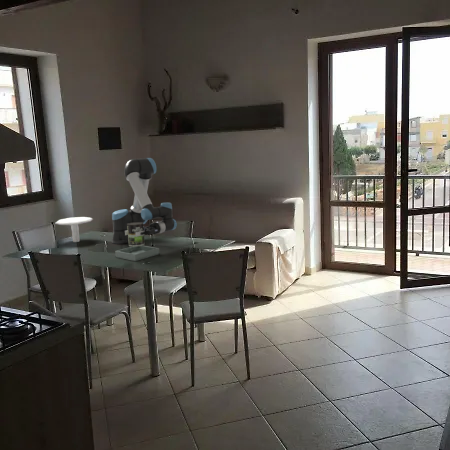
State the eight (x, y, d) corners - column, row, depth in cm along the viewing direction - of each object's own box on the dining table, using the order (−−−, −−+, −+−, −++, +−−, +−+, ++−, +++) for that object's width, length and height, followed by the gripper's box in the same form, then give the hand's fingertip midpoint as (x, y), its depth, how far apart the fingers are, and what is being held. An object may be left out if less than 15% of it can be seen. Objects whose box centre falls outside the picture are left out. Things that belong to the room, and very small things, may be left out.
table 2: (81, 246, 351) (78, 223, 348) (49, 244, 360) (46, 222, 357) (102, 237, 377) (100, 216, 374) (72, 237, 386) (69, 216, 383)
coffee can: (147, 245, 310) (145, 223, 308) (131, 247, 305) (129, 225, 303) (142, 242, 319) (140, 221, 317) (126, 244, 314) (125, 223, 312)
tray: (115, 257, 313) (115, 251, 312) (139, 250, 328) (139, 244, 327) (135, 261, 300) (134, 254, 299) (159, 254, 315) (159, 248, 314)
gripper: (168, 234, 317) (142, 241, 301) (146, 231, 332) (120, 237, 316) (168, 223, 316) (141, 229, 300) (145, 221, 331) (119, 226, 314)
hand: (130, 233), depth 308 cm, fingers closed on coffee can, 10 cm apart
